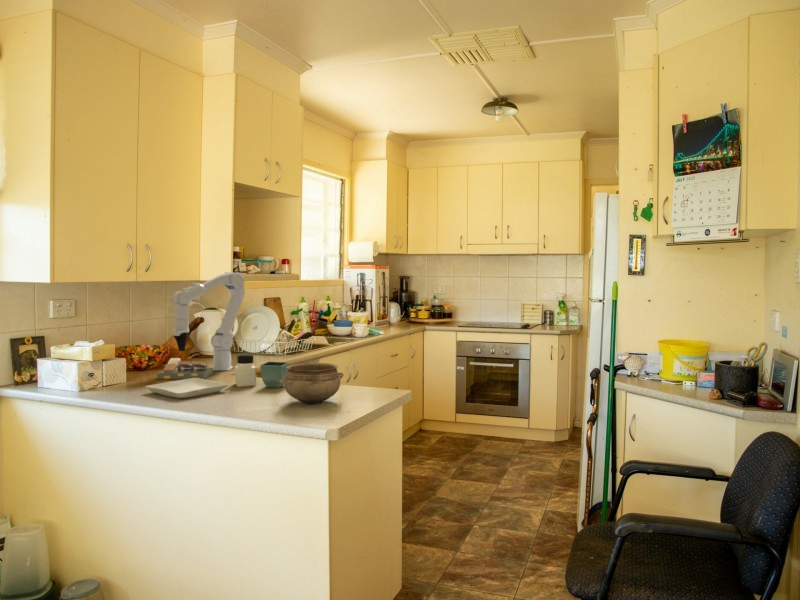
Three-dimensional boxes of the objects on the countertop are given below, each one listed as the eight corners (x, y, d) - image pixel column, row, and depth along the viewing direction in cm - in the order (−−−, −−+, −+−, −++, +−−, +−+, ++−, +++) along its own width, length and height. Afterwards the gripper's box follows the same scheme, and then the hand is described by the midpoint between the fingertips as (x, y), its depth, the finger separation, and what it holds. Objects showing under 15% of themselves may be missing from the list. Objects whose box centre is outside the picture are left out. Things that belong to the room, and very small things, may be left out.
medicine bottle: (256, 385, 241) (256, 355, 241) (237, 387, 239) (237, 355, 238) (253, 382, 248) (253, 352, 248) (235, 383, 245) (234, 353, 245)
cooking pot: (327, 393, 227) (327, 360, 227) (358, 402, 213) (358, 366, 212) (265, 402, 211) (265, 366, 210) (295, 412, 197) (295, 374, 196)
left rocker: (171, 360, 267) (170, 358, 267) (180, 360, 267) (180, 358, 267) (164, 372, 258) (163, 369, 257) (173, 372, 258) (173, 369, 258)
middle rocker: (184, 368, 268) (184, 365, 268) (193, 368, 268) (194, 365, 268) (177, 364, 258) (177, 361, 258) (187, 364, 258) (187, 361, 259)
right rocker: (197, 368, 268) (197, 365, 268) (206, 367, 268) (207, 365, 268) (191, 364, 258) (191, 361, 259) (200, 364, 259) (201, 361, 259)
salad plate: (178, 402, 213) (178, 392, 213) (144, 394, 226) (144, 385, 226) (229, 392, 230) (229, 383, 230) (195, 386, 243) (195, 377, 242)
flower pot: (282, 389, 235) (281, 365, 235) (259, 388, 236) (259, 364, 236) (289, 385, 244) (289, 362, 243) (268, 384, 245) (268, 361, 245)
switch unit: (168, 373, 270) (168, 362, 269) (212, 373, 271) (212, 362, 270) (157, 378, 255) (157, 367, 255) (204, 378, 256) (204, 367, 256)
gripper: (177, 318, 274) (177, 348, 274) (166, 320, 259) (167, 353, 260) (193, 318, 274) (194, 348, 275) (183, 320, 260) (184, 353, 260)
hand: (182, 351), depth 267 cm, fingers closed
